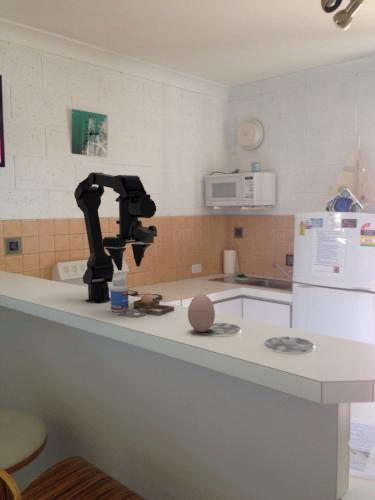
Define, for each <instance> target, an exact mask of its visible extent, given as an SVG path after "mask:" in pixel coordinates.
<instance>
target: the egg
mask: <svg viewBox="0 0 375 500" xmlns="http://www.w3.org/2000/svg"><path fill="white" fill-rule="evenodd" d="M215 311H216V310H215V306H214V304H213V302H212V300H211V299H210V297H209V296H207V294H204V293H198V294H196V295H195V296H193V298H192V299H191V301H190V303H189V306H188V310H187V319H188V322H189V324H190V326H191V328H192V329H193V330H195V331H196V332H199V333H204V332H206V331H208V330H210V328H211V327H212V326H213V325H214V322H215V317H216V312H215Z"/></svg>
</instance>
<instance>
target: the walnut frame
mask: <svg viewBox="0 0 375 500" xmlns="http://www.w3.org/2000/svg"><path fill="white" fill-rule="evenodd" d="M152 299H153V302H150V303H144V302H140V299H137V300H134V301H133V309H135V310H139V309H140V308H143V307H146V306H148V310H155V304H157V305H160V299H154V298H152Z"/></svg>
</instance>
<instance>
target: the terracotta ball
mask: <svg viewBox="0 0 375 500" xmlns="http://www.w3.org/2000/svg"><path fill="white" fill-rule="evenodd" d="M153 299H154V298H152V296H151V295H148V294H144V295H142V296H141V298H140V299H139V300H140V302H144V303H150V302H153Z"/></svg>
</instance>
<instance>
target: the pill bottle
mask: <svg viewBox="0 0 375 500" xmlns="http://www.w3.org/2000/svg"><path fill="white" fill-rule="evenodd" d="M126 280H127V279H126V278H123V277H116V278H115V277H114V278H113V279H112V286H111V287H110V298H111V300H110V311H111V312H114V313H123V312H126V311H129V307H130V306H129V287H128V285H127V284H126V283H127V281H126Z"/></svg>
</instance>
